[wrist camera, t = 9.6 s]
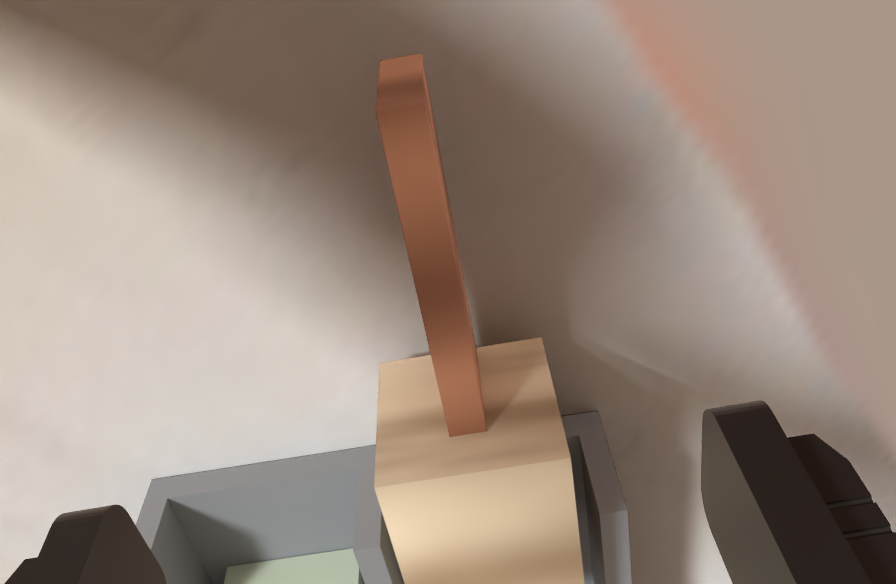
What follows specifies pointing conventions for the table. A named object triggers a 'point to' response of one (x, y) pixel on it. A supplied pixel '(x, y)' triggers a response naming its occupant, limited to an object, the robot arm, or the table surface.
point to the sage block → (300, 570)
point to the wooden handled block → (463, 400)
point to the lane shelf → (346, 513)
